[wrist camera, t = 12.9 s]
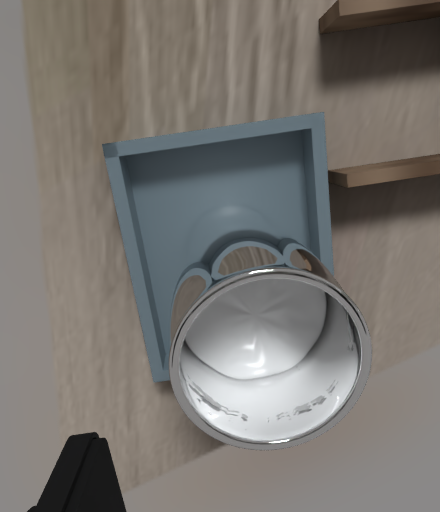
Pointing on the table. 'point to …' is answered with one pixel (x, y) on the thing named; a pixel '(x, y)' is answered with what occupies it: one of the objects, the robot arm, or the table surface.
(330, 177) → the walnut bay
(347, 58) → the table surface
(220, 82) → the table surface
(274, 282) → the silver metal cup
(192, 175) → the slate tray
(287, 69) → the table surface
